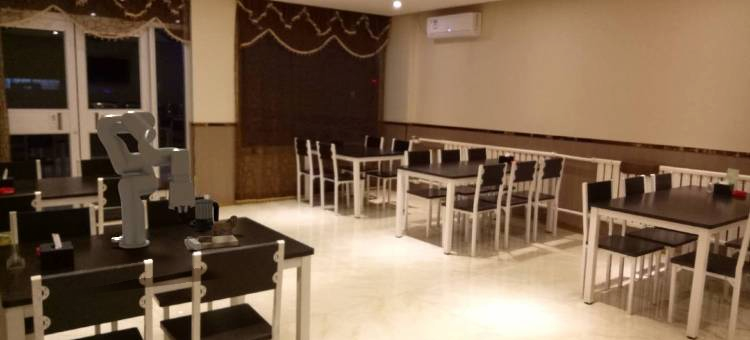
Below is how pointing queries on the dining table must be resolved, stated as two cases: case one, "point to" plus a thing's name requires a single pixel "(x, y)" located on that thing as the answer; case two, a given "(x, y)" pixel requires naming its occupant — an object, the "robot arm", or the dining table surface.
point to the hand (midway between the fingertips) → (182, 221)
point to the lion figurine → (225, 225)
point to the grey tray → (214, 241)
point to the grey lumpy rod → (193, 243)
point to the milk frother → (205, 214)
